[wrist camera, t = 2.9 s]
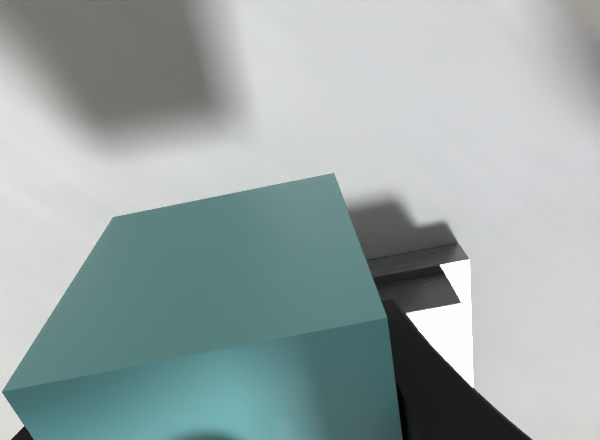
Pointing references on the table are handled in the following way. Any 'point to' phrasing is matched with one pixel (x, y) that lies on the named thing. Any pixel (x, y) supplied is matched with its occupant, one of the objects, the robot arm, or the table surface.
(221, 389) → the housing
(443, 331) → the press bed
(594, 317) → the table surface
